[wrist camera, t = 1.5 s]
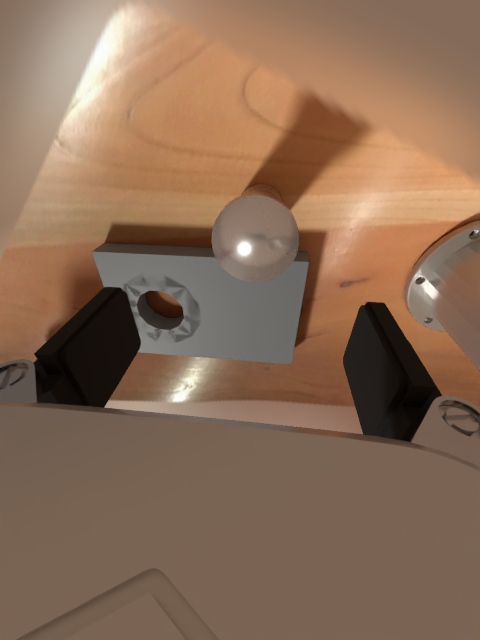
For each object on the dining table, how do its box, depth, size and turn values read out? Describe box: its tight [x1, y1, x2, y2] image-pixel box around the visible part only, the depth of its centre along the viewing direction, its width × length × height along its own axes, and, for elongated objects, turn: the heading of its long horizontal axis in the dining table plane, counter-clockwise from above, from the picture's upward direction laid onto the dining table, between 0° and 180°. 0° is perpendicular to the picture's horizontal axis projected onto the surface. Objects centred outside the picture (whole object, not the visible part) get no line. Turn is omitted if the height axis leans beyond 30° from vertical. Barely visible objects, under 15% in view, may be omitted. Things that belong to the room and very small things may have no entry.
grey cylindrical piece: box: [212, 184, 299, 282], centre depth 22 cm, size 6×6×9 cm
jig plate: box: [92, 243, 309, 364], centre depth 31 cm, size 22×14×2 cm, turn 90°
